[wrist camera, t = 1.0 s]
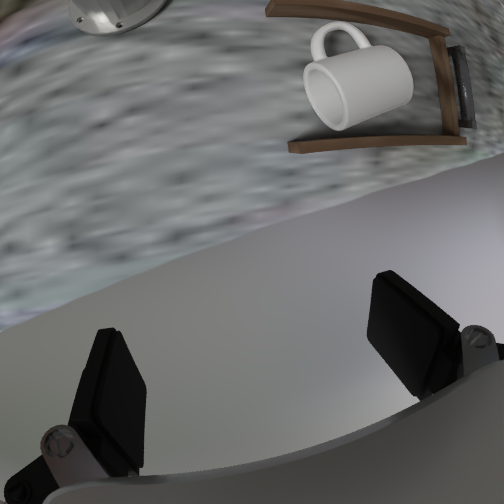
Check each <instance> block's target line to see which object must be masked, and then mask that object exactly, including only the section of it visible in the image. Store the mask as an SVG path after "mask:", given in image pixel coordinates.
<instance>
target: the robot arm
mask: <svg viewBox="0 0 504 504" xmlns="http://www.w3.org/2000/svg"><path fill="white" fill-rule="evenodd" d="M166 1H167V0H70V3H69V15H70V18H71V20H72V22H73V23H74V24H75V26H76V27H77V28H79V29H80V30H81V31H83V32H85V33H87V34H90V35H95V36H109V35H116V34H120V33H124V32H126V31H129V30H131V29H134V28H136V27H138V26H139V25H141V24H143V23H145V22H146V21H148V20H149V19H150V18H152V17H153V16H154V15H155V14H156V13H157V12H158V11H159V10H160V9H161V8H162V7H163V6H164V4H165V3H166ZM121 26H122V27H121ZM119 27H121V28H119ZM459 326H460V324H459V323H457V322H456V321H455V320H454V319H453V318H452V317H450V316H449V315H448V314H447V313H446V312H444V311H443V310H442V309H441V308H440V307H438V306H437V305H436V304H435V303H433V302H432V301H431V300H430V299H428V298H427V297H426V296H425V295H423V294H422V293H421V292H420V291H418V290H417V289H416V288H414V287H413V286H412V285H411V284H409V283H408V282H407V281H405V280H404V279H403V278H401V277H400V276H399V275H398V274H396V273H395V272H393V271H392V270H388V271H385V272H381V273H378V274H377V275H376V278H374V280H373V285H372V295H371V304H370V312H369V320H368V327H367V338H368V340H369V342H370V343H371V344H372V346H373V347H374V348H375V349H376V351H377V352H378V353H379V354H380V355H381V357H382V358H383V359H384V360H385V362H386V363H387V364H388V365H389V367H390V368H391V369H392V370H393V371H394V373H395V374H396V375H397V376H398V378H399V379H400V380H401V382H402V383H403V384H404V385H405V387H406V388H407V389H408V391H409V392H410V393H411V394H412V395H413V396H417V398H418V399H419V400H420V402H418V403H416V404H414V405H412V406H410V407H408V408H406V409H404V410H402V411H401V412H398V413H396V414H394V415H392V416H390V417H388V418H385V419H383V420H381V421H379V422H376V423H374V424H372V425H370V426H367V427H365V428H362V429H360V430H357V431H355V432H352V433H350V434H347V435H345V436H342V437H339V438H336V439H333V440H330V441H328V442H325V443H322V444H318V445H315V446H313V447H309V448H306V449H303V450H299V451H296V452H292V453H288V454H285V455H281V456H277V457H273V458H269V459H265V460H261V461H256V462H251V463H246V464H241V465H236V466H230V467H224V468H218V469H211V470H204V471H196V472H188V473H178V474H166V475H151V476H139V468H142V467H143V464H144V429H145V409H146V394H147V392H146V385H145V382H144V380H143V379H142V376H141V374H140V372H139V370H138V368H137V366H136V364H135V362H134V360H133V358H132V356H131V353H130V351H129V349H128V347H127V345H126V342H125V340H124V338H123V335H122V333H121V332H120V331H116V329H115V328H106V329H99V330H98V332H97V335H96V337H95V340H94V343H93V346H92V349H91V352H90V355H89V358H88V361H87V364H86V367H85V369H84V370H83V372H82V375H81V379H80V382H79V385H78V389H77V392H76V396H75V399H74V403H73V407H72V411H71V414H70V418H69V422H68V425H56V426H54V427H52V428H50V429H49V430H48V431H47V432H46V433H45V434H44V436H43V437H42V440H41V442H40V449H41V453H42V455H41V456H40V457H38V458H37V459H36V460H34V461H33V462H31V463H30V464H29V465H27V466H26V467H25V468H23V469H22V470H20V471H19V472H18V473H16V474H15V475H14V476H12V477H11V478H10V479H9V480H8V481H7V483H6V485H5V488H4V497H5V500H6V501H5V502H3V501H0V504H504V344H500V343H496V341H495V338H494V335H493V334H492V333H491V332H490V331H489V330H488V329H486V328H484V327H482V326H478V325H470V326H467V327H465V328H464V329H463V330H462V332H460V331H458V329H459ZM432 394H433V395H432ZM128 476H129V477H128Z"/></svg>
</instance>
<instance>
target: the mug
mask: <svg viewBox="0 0 504 504" xmlns="http://www.w3.org/2000/svg"><path fill="white" fill-rule="evenodd" d="M334 30H344V31H346V32H348V33H349V34H350V35H351V36H352V37H353V39H354V40H355V41H356V43H357V45H358V46H359V50H355V51H351V52H347V53H343V54H339V55H336V56H332V57H327V55H326V53H325V49H324V38H325V35H326V34H327V33H329V32H331V31H334ZM311 53H312V57H313V60H314V62H312V63H309V64H308V65H307V66H306V67H305V69H304V74H303V81H304V87H305V91H306V94H307V96H308V99H309V101H310V103H311V105H312V107H313V109H314V111H315V112H316V114H317V115H318V116H319V118H320V119H321V120H322V121H323V122H324V123H325V124H326V125H327V126H328V127H330V128H331V129H333V130H337V131H341V130H344V129H346V128H349V127H351V126H353V125H356V124H358V123H361V122H363V121H366V120H368V119H371V118H373V117H376V116H378V115H381V114H383V113H386V112H388V111H391V110H393V109H396V108H399V107H401V106H404V105H406V104H407V103H408V102H409V101H410V100H411V98H412V95H413V90H414V85H413V78H412V75H411V72H410V69H409V67H408V65H407V64H406V62H405V61H404V59H403V58H402V57H401V56H400V55H399V54H398V53H397V52H396V51H395V50H393V49H392V48H390V47H387V46H384V45H376V46H372V45H371V44H370V42H369V41H368V39H367V38H366V36H365V35H364V34H363V33H362V32H361V31H360V30H359V29H358V28H357V27H355V26H354V25H352V24H350V23H347V22H342V21H336V22H331V23H328V24H326V25H324V26H322V27H321V28H319V29H318V30H317V31H316V32H315V34H314V35H313V37H312V40H311Z"/></svg>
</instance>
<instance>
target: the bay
mask: <svg viewBox="0 0 504 504" xmlns="http://www.w3.org/2000/svg"><path fill="white" fill-rule="evenodd" d="M265 12H266V17H302V18H319V19H331V20H340V21H348V22H356V23H362V24H369V25H374V26H380V27H385V28H390V29H394V30H399V31H403V32H407V33H411V34H415V35H419V36H423V37H426V38H428V39H429V43H430V47H431V52H432V56H433V61H434V66H435V72H436V77H437V84H438V90H439V97H440V105H441V114H442V124H443V135H417V134H409V135H369V136H350V137H336V138H323V139H313V140H303V141H294V142H288V149H289V152H290V153H298V154H304V153H313V152H322V151H332V150H342V149H354V148H367V147H383V146H405V145H467V140H466V137H461V136H459V127H462V128H473V129H477V126H476V121H475V112H474V103H473V95H472V88H471V82H470V76H469V70H468V65H467V60H466V56H465V54H466V52H465V48H464V47H463V46H460V45H459V46H454V47H449V48H446V44H445V39H444V37H446V36H451V35H450V32H449V29H448V28H446V27H443V26H440V25H438V24H435V23H432V22H429V21H426V20H423V19H420V18H416V17H413V16H410V15H406V14H403V13H399V12H395V11H391V10H387V9H383V8H379V7H374V6H369V5H364V4H359V3H353V2H347V1H340V0H270V2H269V4H268V5H267V7H266V8H265ZM450 56H452V59H453V64H454V70H455V75H456V81H457V87H458V94H459V102H460V110H461V120H458V115H457V106H456V98H455V91H454V84H453V78H452V72H451V67H450V62H449V57H450Z"/></svg>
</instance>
